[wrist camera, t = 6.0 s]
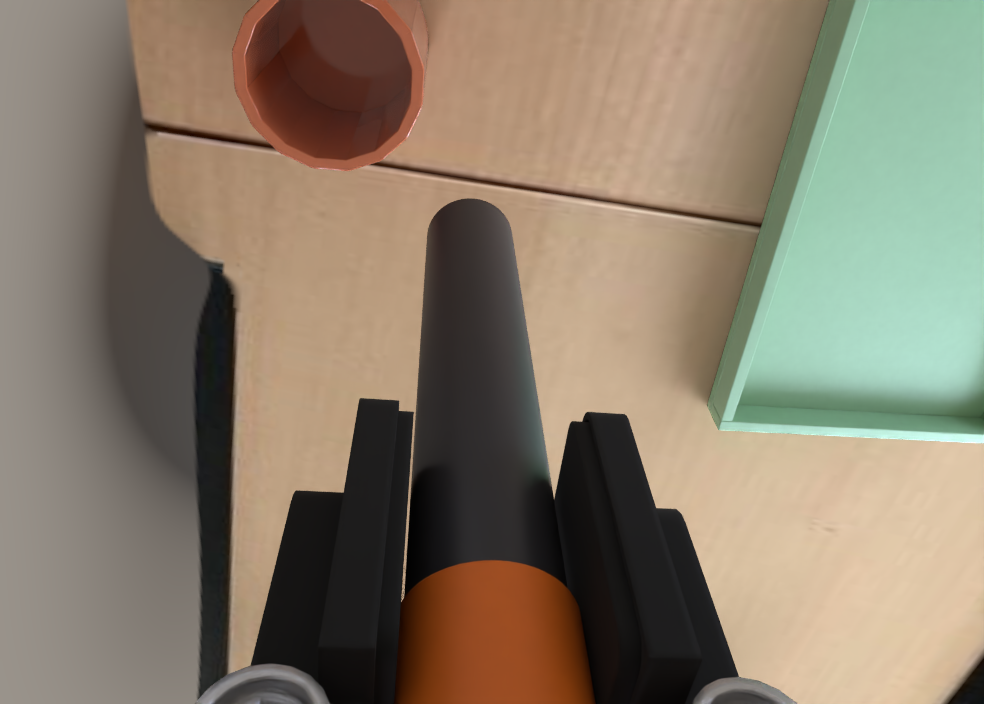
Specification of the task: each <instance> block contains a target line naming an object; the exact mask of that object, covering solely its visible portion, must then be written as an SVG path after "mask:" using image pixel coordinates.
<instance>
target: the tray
mask: <svg viewBox="0 0 984 704" xmlns="http://www.w3.org/2000/svg"><path fill="white" fill-rule="evenodd" d="M707 406H708V409H709V411H710V413H711V415H712V417H713V420H714V422H715V424H716V426H717V428H718V430H728V431H748V432H768V433H788V434H808V435H828V436H848V437H868V438H888V439H908V440H928V441H948V442H967V443H984V0H830V1H829V4H828V7H827V11H826V14H825V17H824V21H823V24H822V27H821V30H820V34H819V37H818V40H817V44H816V47H815V50H814V54H813V57H812V60H811V64H810V67H809V70H808V73H807V77H806V80H805V83H804V87H803V90H802V93H801V97H800V100H799V103H798V106H797V110H796V113H795V116H794V120H793V123H792V126H791V130H790V133H789V136H788V140H787V143H786V146H785V149H784V153H783V156H782V159H781V163H780V166H779V169H778V173H777V176H776V179H775V183H774V186H773V189H772V192H771V196H770V199H769V202H768V206H767V209H766V212H765V216H764V219H763V222H762V226H761V229H760V232H759V235H758V239H757V242H756V245H755V249H754V252H753V255H752V259H751V262H750V265H749V268H748V272H747V275H746V278H745V282H744V285H743V288H742V292H741V295H740V298H739V302H738V305H737V308H736V311H735V315H734V318H733V321H732V325H731V328H730V331H729V335H728V338H727V341H726V345H725V348H724V351H723V354H722V358H721V361H720V364H719V368H718V371H717V374H716V378H715V381H714V384H713V388H712V391H711V394H710V397H709V401H708V404H707Z"/></svg>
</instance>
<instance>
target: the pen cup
mask: <svg viewBox="0 0 984 704" xmlns="http://www.w3.org/2000/svg"><path fill="white" fill-rule="evenodd" d="M232 51H233V52H232V59H233V72H234V85H235V90H236V93H237V96H238V98H239V100H240V102H241V104H242V106H243V108H244V110H245V112H246V114H247V117H248V119H249V121H250V123H251V125H252V126H253V127H254V128H255V129H256V130H257V131H258V132H259V133H260V134H261V135H262V136H263V137H264V138H265V139H266V140H267V141H268V142H269V143H270V144H271V145H272V146H273V147H274V148H275V149H276V150H277V151H278V152H280V153H281V154H283V155H285V156H287V157H290V158H292V159H294V160H296V161H298V162H300V163H302V164H305V165H307V166H309V167H311V168H315V169H328V170H341V171H348V170H349V171H350V170H354V169H357V168H360V167H363V166H366V165H369V164H372V163H376V162H379V161H381V160H383V159H384V158H385V157H386V156H387V155H388V154H390V153H391V152H392V151H393V150H394V149H395V148H397V147H398V146H399V145H400V144H401V143H402V142H403V141H405V140H406V138H407V137H408V136H409V134H410V131H411V129H412V127H413V125H414V123H415V121H416V119H417V117H418V115H419V113H420V111H421V108H422V105H423V97H424V88H425V79H426V69H427V54H428V30H427V24H426V20H425V16H424V13H423V10H422V8H421V5H420V3H419V1H418V0H258V1H257V2H256V3H255V4H254V5H253V6H252V7H251V9H250V10H249V11H248V12H247V13H246V14H245V16H244V17H243V20H242V23H241V26H240V29H239V32H238V35H237V38H236V41H235V44H234V46H233V49H232Z"/></svg>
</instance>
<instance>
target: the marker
mask: <svg viewBox="0 0 984 704" xmlns="http://www.w3.org/2000/svg"><path fill="white" fill-rule="evenodd" d="M394 704H596V702H595V697H594V691H593V685H592V679H591V673H590V667H589V661H588V655H587V649H586V643H585V637H584V631H583V625H582V620H581V614H580V610H579V606H578V604H577V602H576V600H575V598H574V596H573V595H572V594H571V592H570V591H569V589H568V586H567V580H566V573H565V567H564V561H563V554H562V548H561V542H560V535H559V529H558V523H557V516H556V510H555V504H554V497H553V491H552V484H551V478H550V472H549V465H548V459H547V453H546V446H545V440H544V434H543V427H542V421H541V415H540V408H539V402H538V396H537V389H536V383H535V377H534V370H533V364H532V358H531V351H530V345H529V338H528V332H527V326H526V319H525V313H524V307H523V300H522V294H521V288H520V281H519V275H518V269H517V262H516V256H515V250H514V243H513V237H512V231H511V227H510V224H509V222H508V220H507V218H506V217H505V215H504V214H503V213H502V212H501V211H500V210H499V209H498V208H497V207H495V206H494V205H492V204H490V203H488V202H486V201H483V200H479V199H461V200H457V201H454V202H451V203H449V204H447V205H446V206H444V207H443V208H442V209H440V210H439V211H438V212H437V213H436V215H435V216H434V217H433V219H432V221H431V223H430V225H429V228H428V234H427V247H426V263H425V279H424V294H423V310H422V326H421V342H420V357H419V373H418V389H417V405H416V420H415V436H414V452H413V468H412V483H411V499H410V515H409V531H408V546H407V562H406V578H405V594H404V599H403V600H402V602H401V609H400V624H399V639H398V654H397V669H396V683H395V698H394Z"/></svg>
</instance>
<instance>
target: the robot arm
mask: <svg viewBox="0 0 984 704" xmlns="http://www.w3.org/2000/svg"><path fill="white" fill-rule="evenodd" d="M413 414H414V412H407V411H399V401H397V400H380V399H364V398H360V400H359V405H358V411H357V417H356V423H355V428H354V434H353V440H352V446H351V452H350V458H349V464H348V470H347V476H346V482H345V488H344V493H336V492H316V491H295V493H294V494H293V497H292V501H291V504H290V508H289V512H288V516H287V520H286V524H285V528H284V532H283V536H282V540H281V545H280V549H279V553H278V557H277V561H276V565H275V569H274V573H273V577H272V581H271V585H270V589H269V593H268V597H267V601H266V606H265V610H264V614H263V618H262V622H261V626H260V630H259V634H258V638H257V642H256V646H255V650H254V654H253V658H252V662H251V666H248V667H246V668H243V669H241V670H238V671H235V672H233V673H230V674H228V675H226V676H225V677H223V678H222V679H221V680H219V681H218V682H216V683H215V684H214V685H212V686H211V687H209V688H208V689H207V690H206V692H205V693H204V694H203V695H202V696H201V697H200V699H199V700H198V701H197V702H196V703H195V704H394V698H395V683H396V669H397V654H398V639H399V624H400V609H401V594H402V579H403V564H404V549H405V534H406V519H407V504H408V489H409V474H410V459H411V444H412V429H413ZM554 504H555V510H556V516H557V523H558V529H559V535H560V542H561V548H562V554H563V561H564V567H565V573H566V580H567V586H568V589H569V591H570V592H571V594H572V595H573V596H574V598H575V600H576V602H577V604H578V606H579V610H580V614H581V620H582V625H583V631H584V637H585V643H586V649H587V655H588V661H589V667H590V673H591V679H592V685H593V691H594V697H595V702H596V704H797V703H796V702H795V701H793V700H792V699H790V698H789V697H788V696H786V695H785V694H784V693H782V692H781V691H780V690H778V689H776V688H774V687H771V686H769V685H767V684H765V683H762V682H760V681H757V680H752V679H747V678H741V677H739V676H738V673H737V670H736V667H735V664H734V661H733V658H732V655H731V652H730V650H729V647H728V644H727V641H726V638H725V635H724V632H723V629H722V627H721V624H720V621H719V618H718V615H717V612H716V609H715V606H714V604H713V601H712V598H711V595H710V592H709V589H708V586H707V583H706V581H705V578H704V575H703V572H702V569H701V566H700V563H699V560H698V557H697V555H696V552H695V549H694V546H693V543H692V540H691V537H690V534H689V532H688V529H687V526H686V523H685V521H684V519H683V516H682V514H681V513H680V512H679V511H678V510H677V509H661V508H656V506H655V503H654V500H653V497H652V494H651V490H650V487H649V484H648V481H647V477H646V474H645V471H644V468H643V465H642V461H641V458H640V455H639V452H638V448H637V445H636V442H635V439H634V436H633V432H632V429H631V426H630V423H629V420H628V418H627V416H626V415H625V414H612V413H595V412H587V413H586V414H585V416H584V418H583V421H582V422H576V421H572V422H571V423H570V426H569V430H568V434H567V439H566V444H565V449H564V454H563V459H562V464H561V469H560V474H559V479H558V484H557V489H556V494H555V499H554Z"/></svg>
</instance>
